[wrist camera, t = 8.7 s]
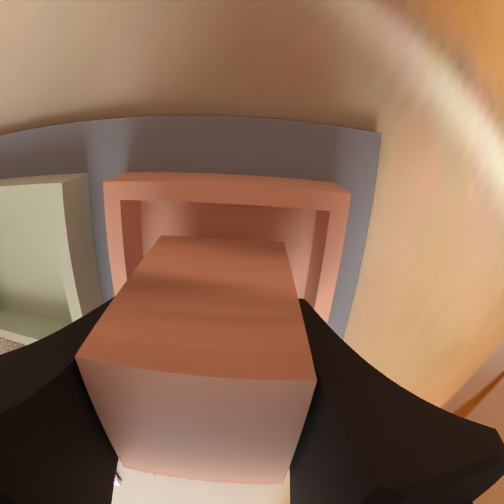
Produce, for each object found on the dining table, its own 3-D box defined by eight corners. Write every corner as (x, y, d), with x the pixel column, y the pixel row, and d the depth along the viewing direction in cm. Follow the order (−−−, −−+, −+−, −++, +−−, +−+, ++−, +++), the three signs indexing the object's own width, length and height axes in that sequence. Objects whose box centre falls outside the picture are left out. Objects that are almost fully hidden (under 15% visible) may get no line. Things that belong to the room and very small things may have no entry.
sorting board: (327, 374, 15) (337, 410, 13) (6, 332, 15) (-14, 356, 13) (375, 132, 11) (405, 136, 8) (-32, 143, 10) (-65, 151, 8)
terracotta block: (272, 341, 12) (283, 483, 6) (168, 333, 12) (124, 467, 6) (284, 242, 10) (317, 380, 5) (160, 235, 10) (74, 356, 4)
